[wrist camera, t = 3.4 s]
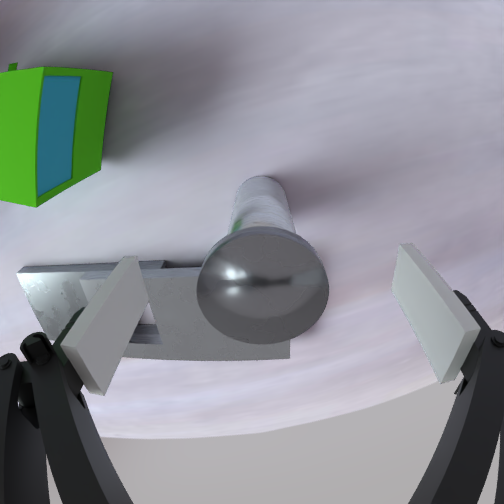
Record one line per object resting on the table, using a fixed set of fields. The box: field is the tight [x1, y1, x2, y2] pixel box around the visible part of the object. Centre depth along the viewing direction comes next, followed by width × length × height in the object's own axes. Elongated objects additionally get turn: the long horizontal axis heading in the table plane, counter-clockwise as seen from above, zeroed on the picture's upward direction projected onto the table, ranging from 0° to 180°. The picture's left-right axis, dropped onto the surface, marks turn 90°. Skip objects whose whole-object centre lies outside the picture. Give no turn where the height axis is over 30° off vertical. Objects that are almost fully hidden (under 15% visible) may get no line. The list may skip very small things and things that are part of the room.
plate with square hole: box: [16, 260, 290, 361], centre depth 28 cm, size 10×30×3 cm, turn 94°
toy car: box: [0, 63, 113, 208], centre depth 16 cm, size 10×13×10 cm
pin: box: [196, 176, 329, 344], centre depth 18 cm, size 6×6×13 cm
